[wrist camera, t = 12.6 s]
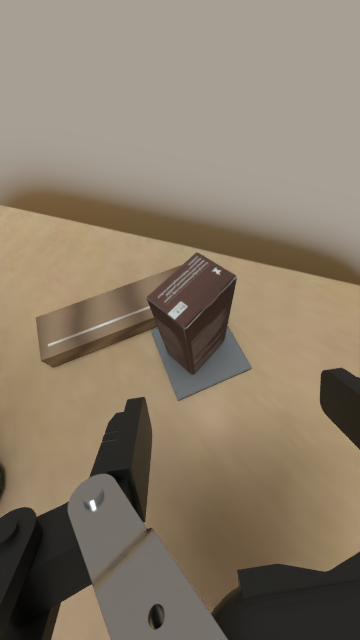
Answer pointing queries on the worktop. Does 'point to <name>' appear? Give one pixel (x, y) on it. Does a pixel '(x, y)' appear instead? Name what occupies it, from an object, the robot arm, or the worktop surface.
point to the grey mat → (204, 366)
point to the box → (193, 310)
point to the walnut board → (97, 321)
